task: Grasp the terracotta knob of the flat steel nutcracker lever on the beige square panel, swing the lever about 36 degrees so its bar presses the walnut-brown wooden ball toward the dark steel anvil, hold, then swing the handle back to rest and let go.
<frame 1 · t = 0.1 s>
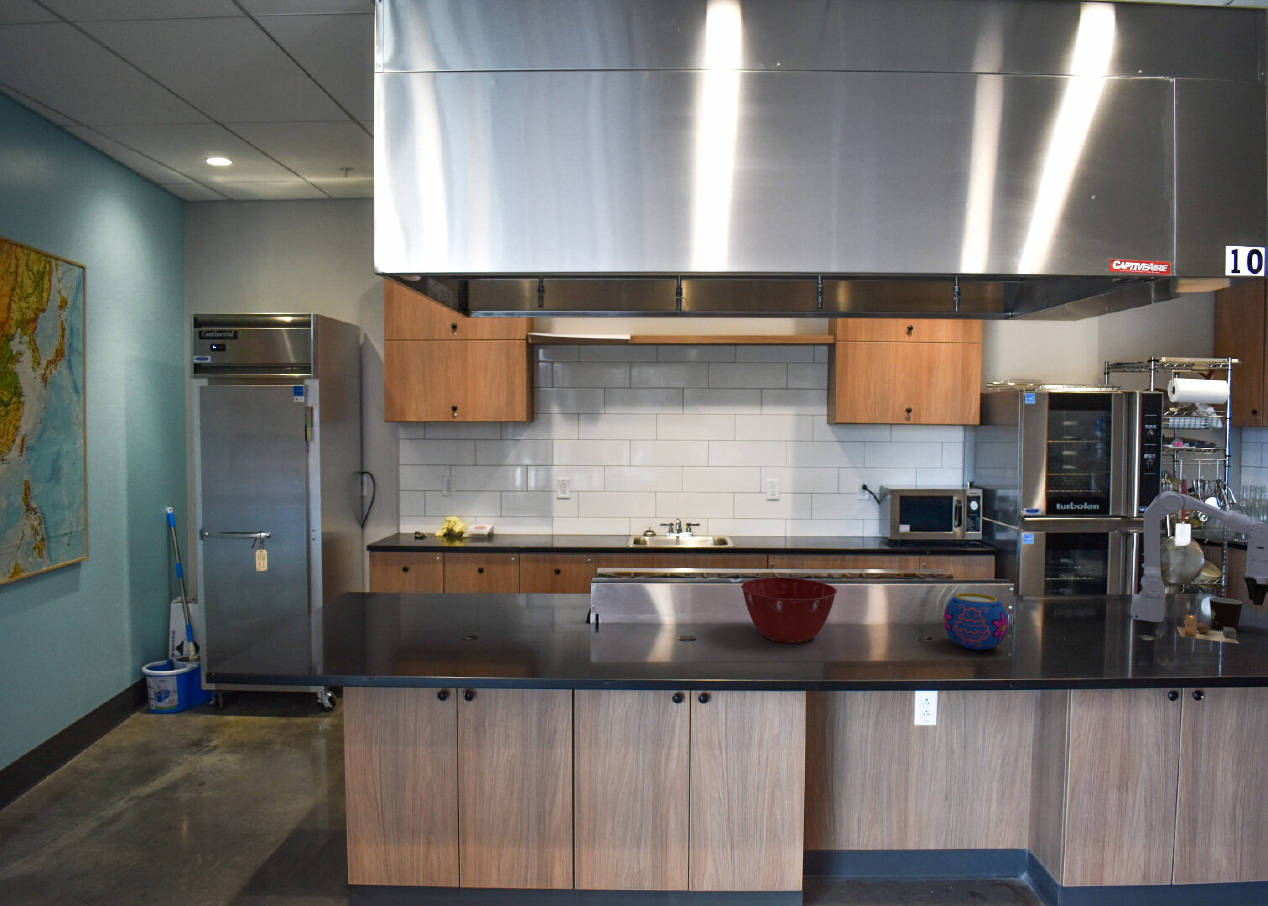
hand: (1255, 602, 259), 10 cm above the worktop, fingers open, 7 cm apart
ceramic pot: (974, 648, 240), on the worktop
coffee mug: (1224, 631, 263), on the worktop
beige square panel: (1206, 637, 254), on the worktop
mixing bowl: (787, 637, 249), on the worktop
lever: (1190, 621, 256), point 4 cm above the worktop, hinge at 0.0°
walnut: (1202, 633, 255), point 1 cm above the worktop, touching beige square panel
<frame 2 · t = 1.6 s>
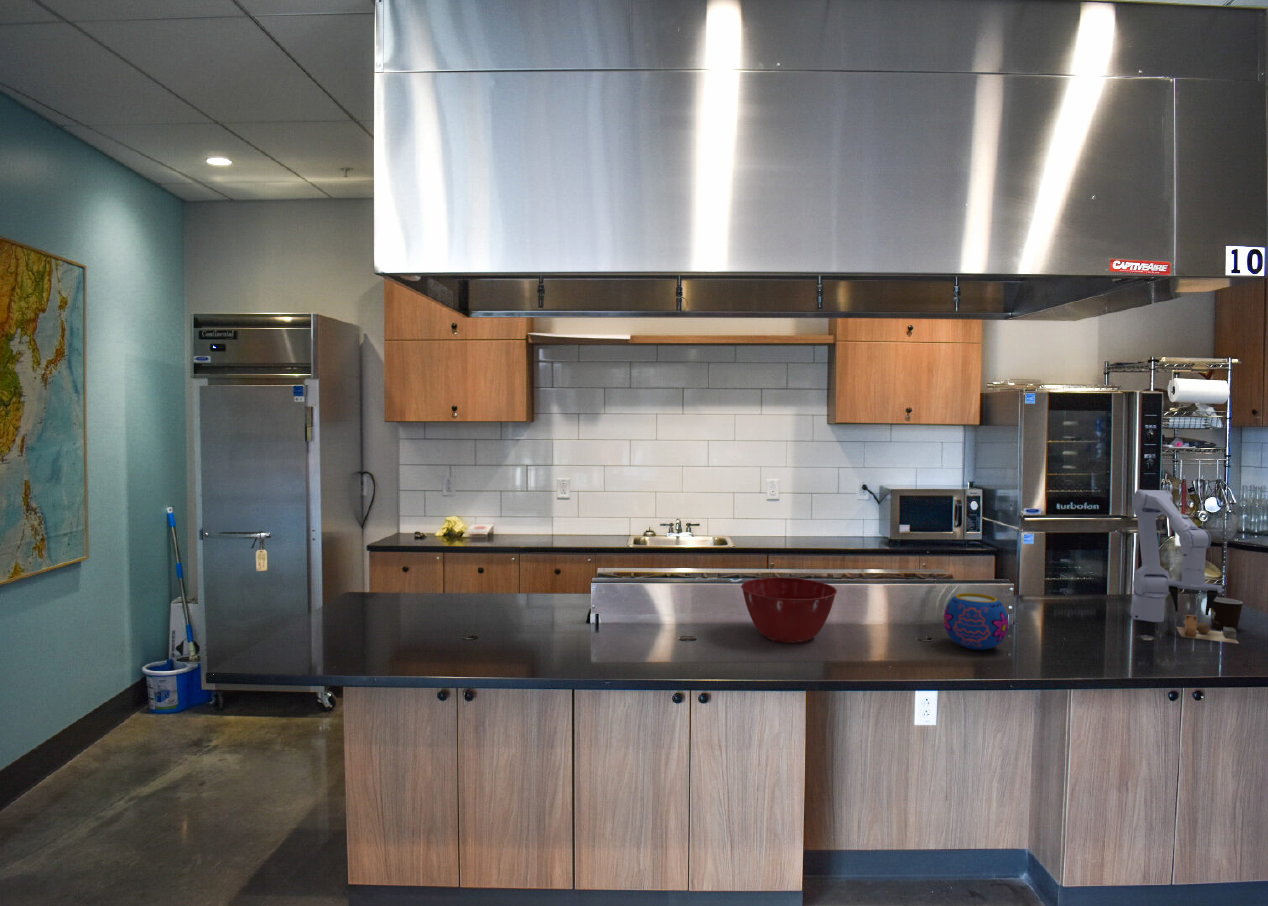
hand: (1191, 612, 251), 8 cm above the worktop, fingers open, 7 cm apart
nothing on the worktop moved.
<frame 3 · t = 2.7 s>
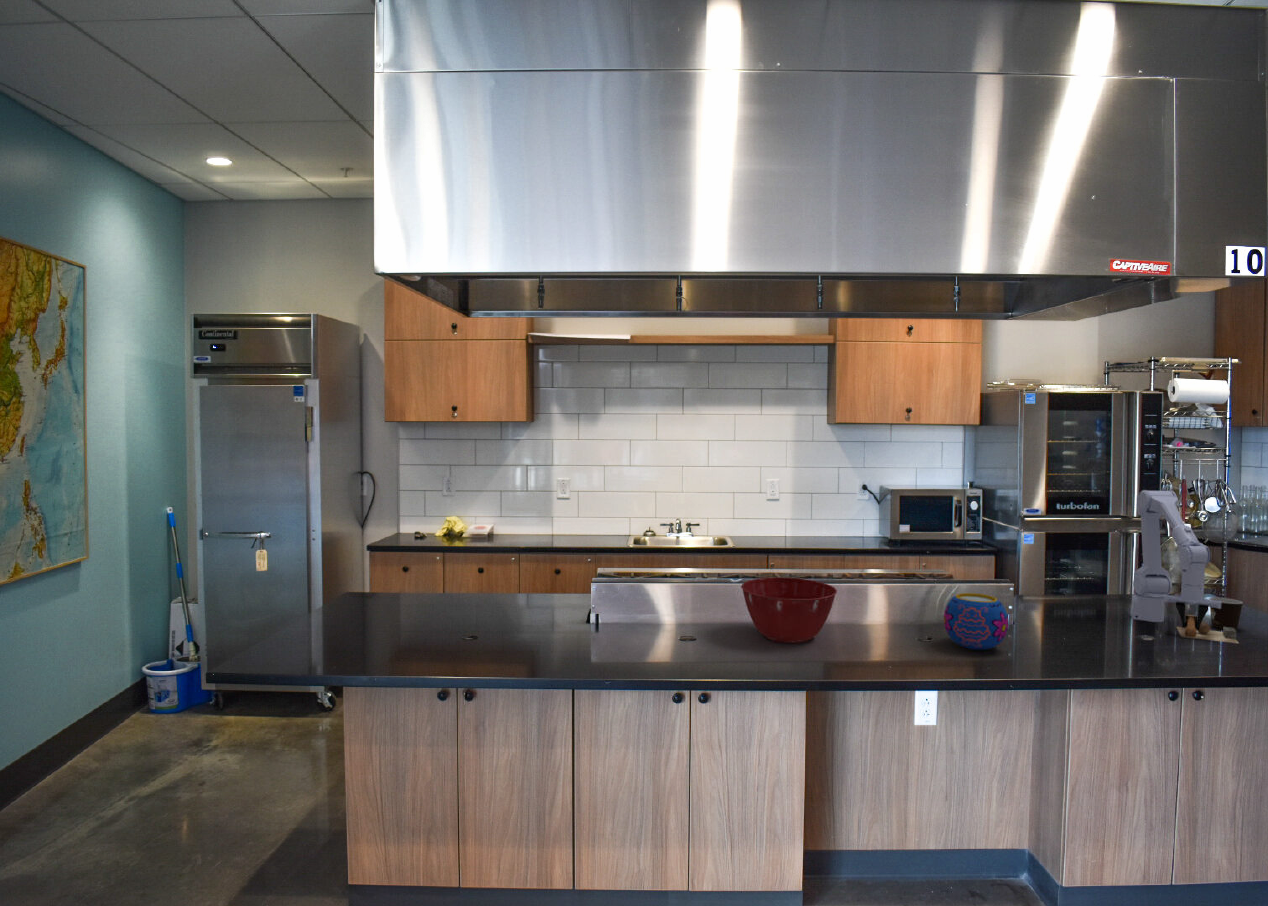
hand: (1190, 628, 251), 4 cm above the worktop, fingers closed on lever, 3 cm apart
lever: (1190, 621, 256), point 4 cm above the worktop, hinge at 0.0°, touching gripper
everything else where it was.
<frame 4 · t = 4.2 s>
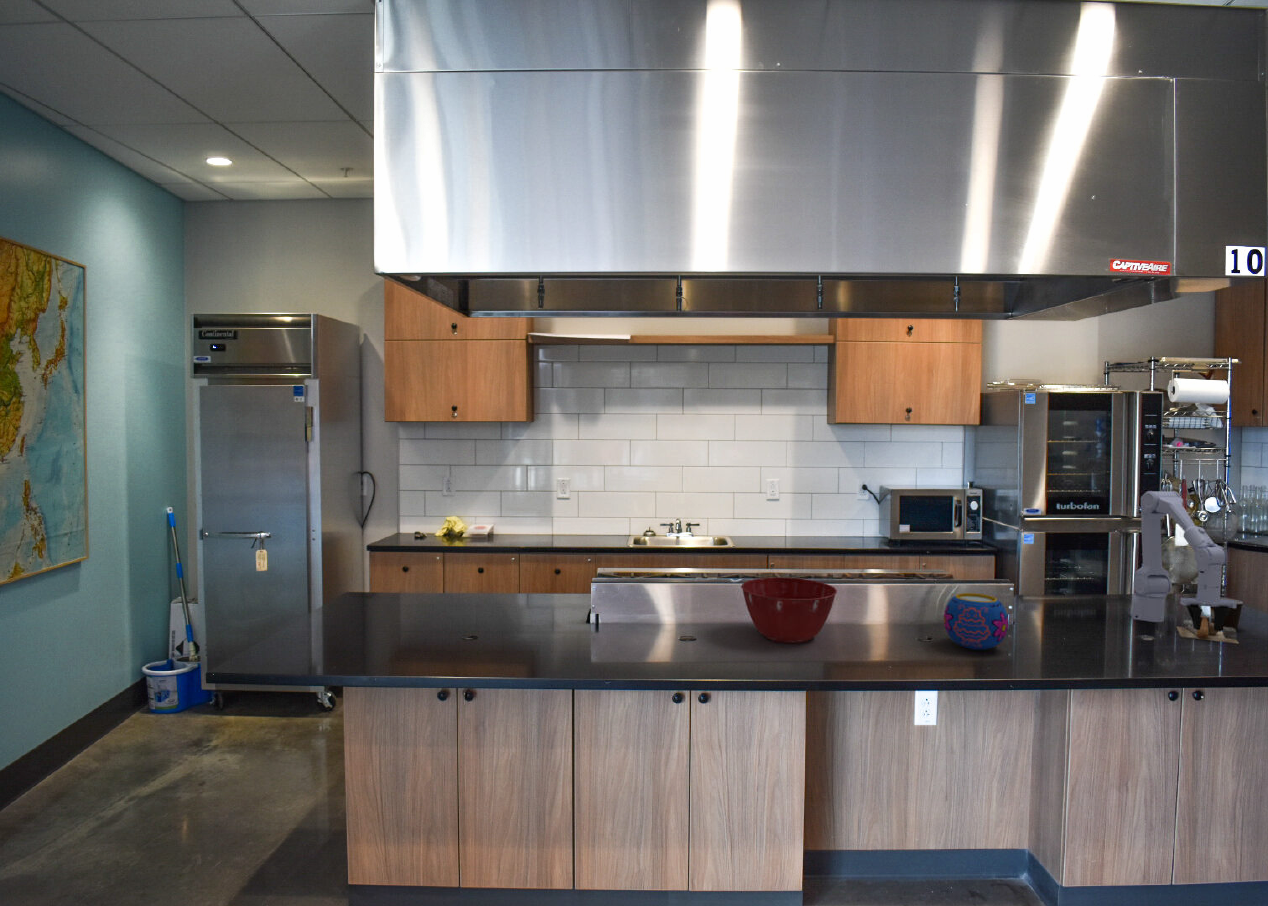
hand: (1206, 629, 250), 4 cm above the worktop, fingers open, 5 cm apart
lever: (1196, 622, 255), point 4 cm above the worktop, hinge at 16.0°, touching gripper
walnut: (1205, 630, 255), point 2 cm above the worktop, tilted 70°, touching beige square panel
everything else where it was.
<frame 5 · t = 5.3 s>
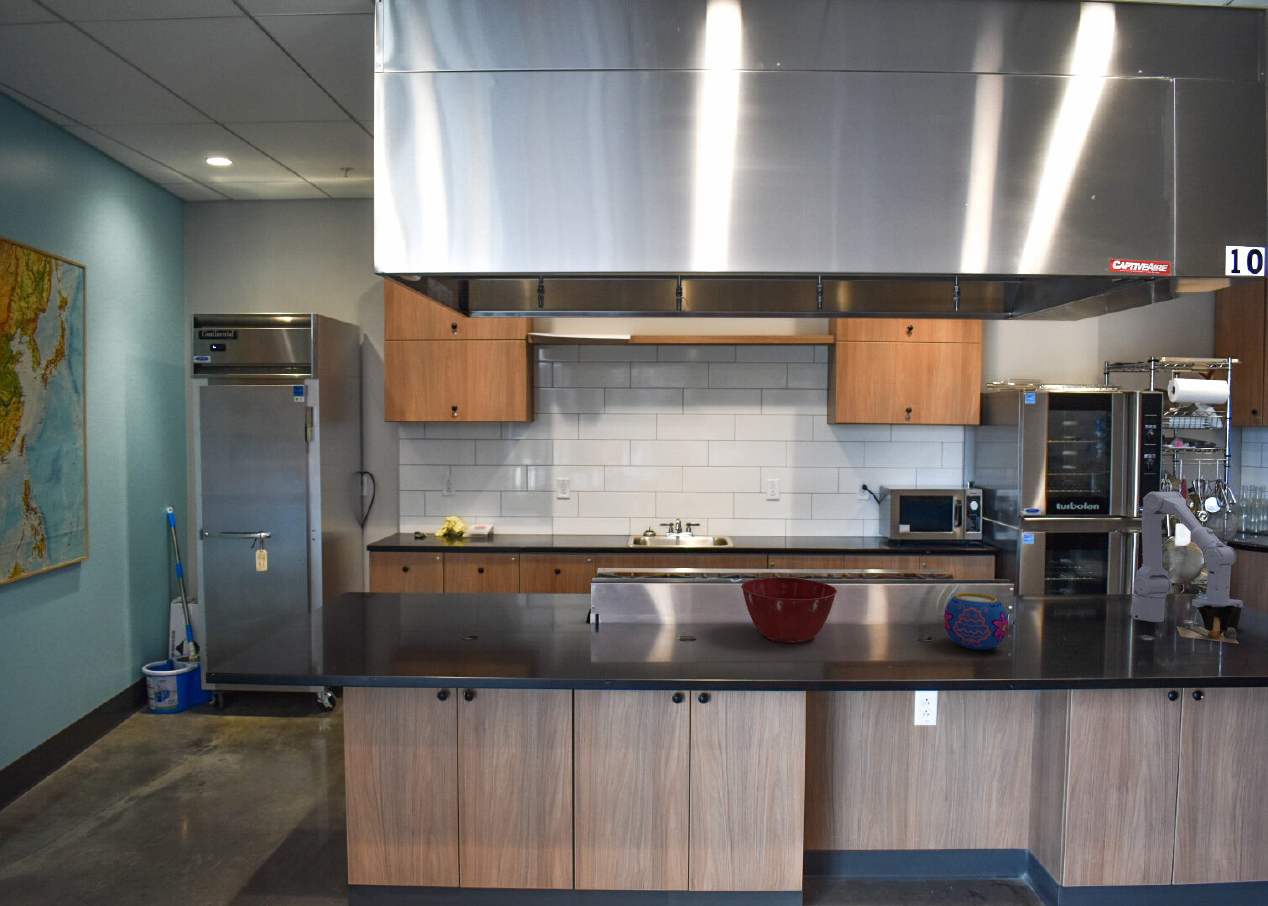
hand: (1215, 630, 250), 4 cm above the worktop, fingers open, 4 cm apart
lever: (1201, 622, 255), point 4 cm above the worktop, hinge at 32.3°, touching gripper
walnut: (1210, 626, 254), point 3 cm above the worktop, tilted 110°, touching beige square panel
everything else where it was.
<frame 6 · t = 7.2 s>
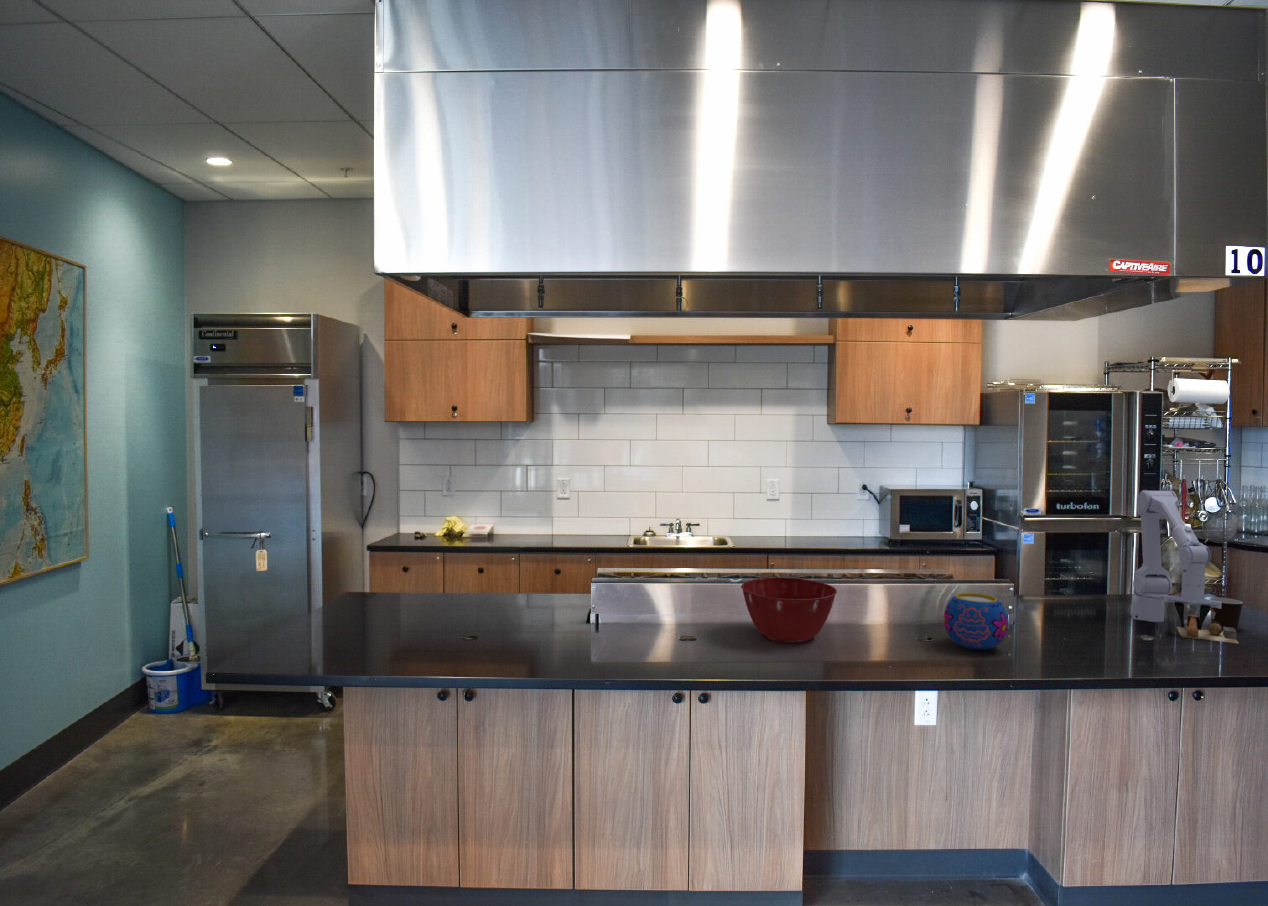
hand: (1190, 628, 251), 4 cm above the worktop, fingers open, 4 cm apart
lever: (1191, 621, 256), point 4 cm above the worktop, hinge at 2.6°, touching gripper
walnut: (1208, 627, 255), point 3 cm above the worktop, tilted 98°, touching beige square panel
everything else where it was.
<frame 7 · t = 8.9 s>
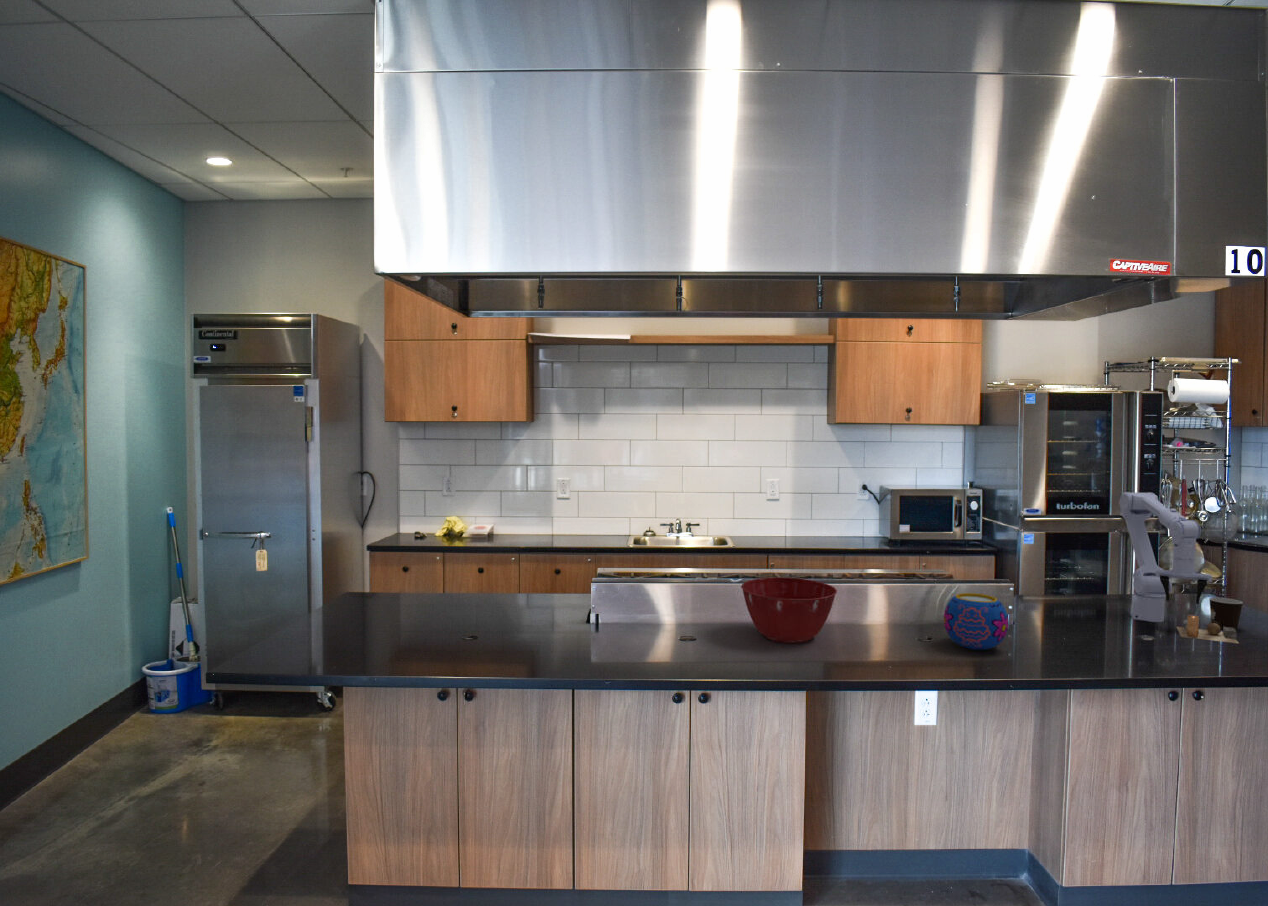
hand: (1182, 601, 257), 10 cm above the worktop, fingers open, 7 cm apart
lever: (1191, 621, 256), point 4 cm above the worktop, hinge at 2.6°
walnut: (1206, 628, 255), point 3 cm above the worktop, tilted 88°, touching beige square panel
everything else where it was.
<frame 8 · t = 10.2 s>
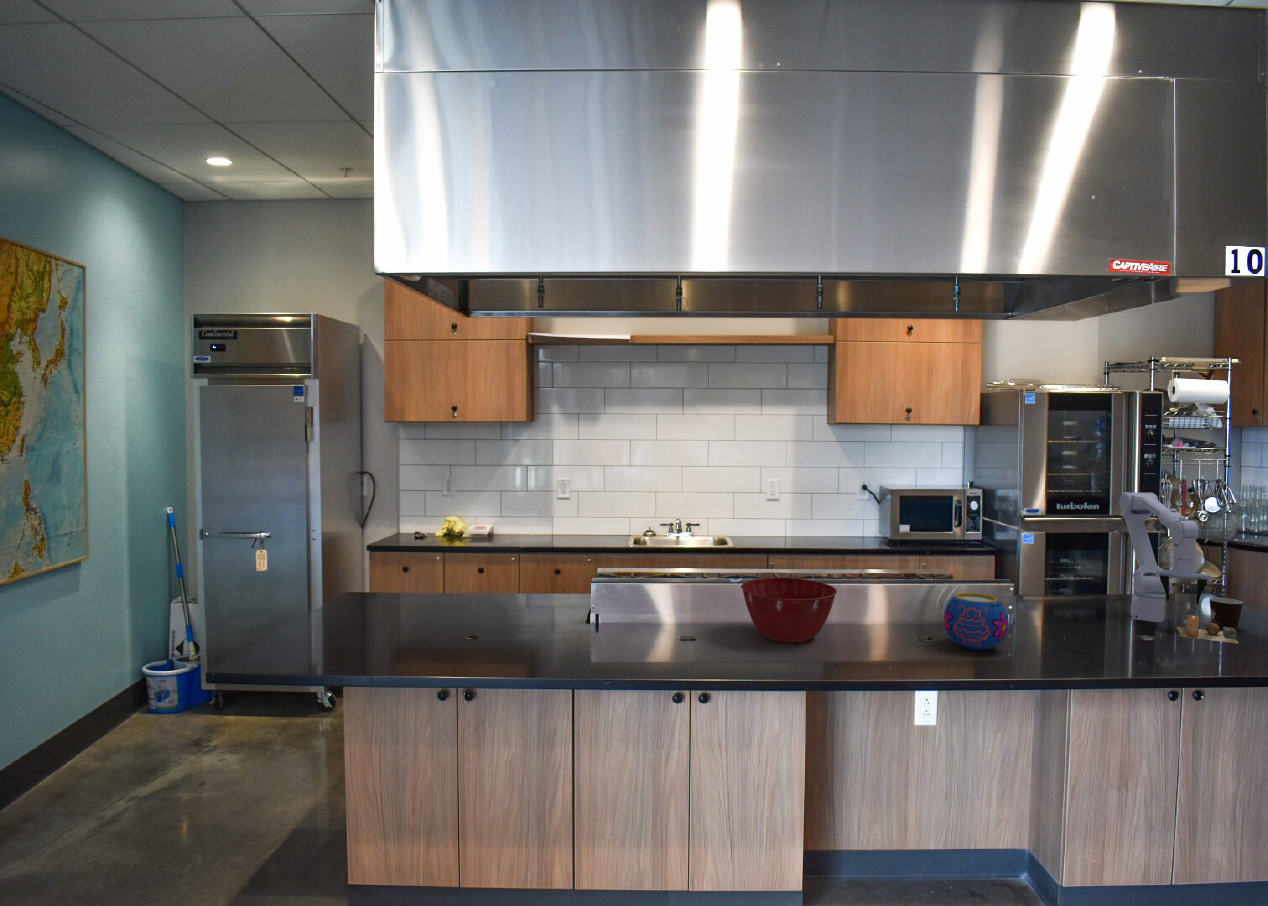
hand: (1182, 601, 257), 10 cm above the worktop, fingers open, 7 cm apart
walnut: (1205, 629, 255), point 2 cm above the worktop, tilted 79°, touching beige square panel
everything else where it was.
at the end: lever at +3° (first picture: +0°); walnut moved 1.6 cm from its start; the gripper is holding nothing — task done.
